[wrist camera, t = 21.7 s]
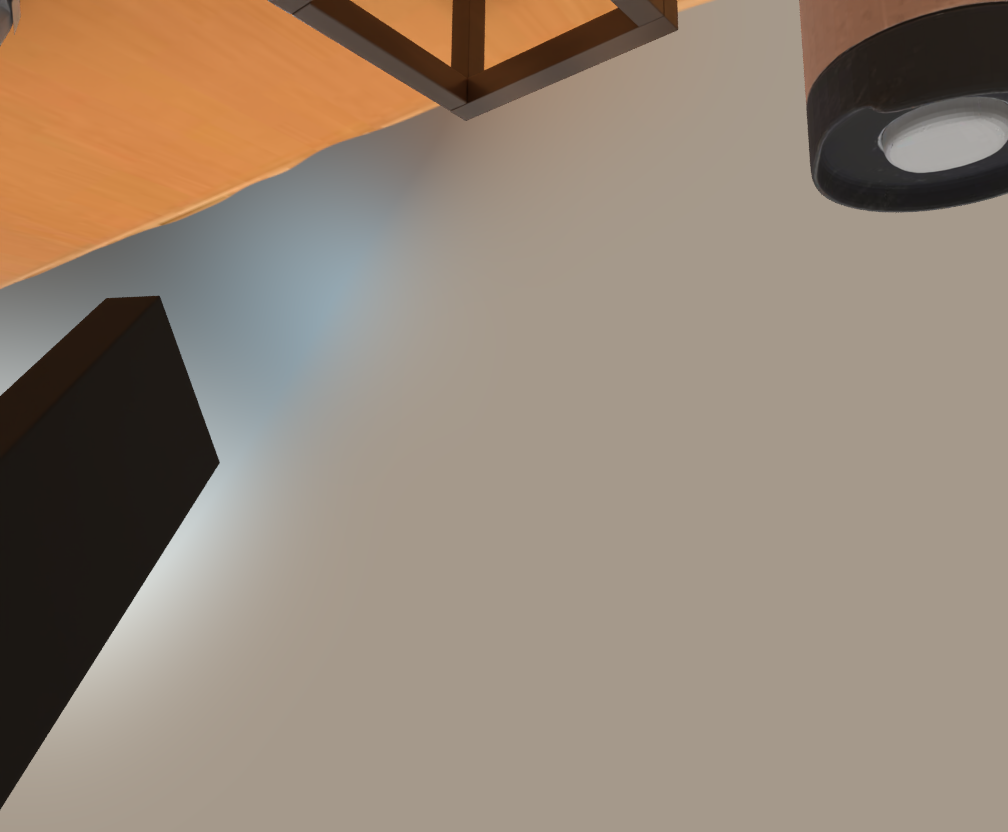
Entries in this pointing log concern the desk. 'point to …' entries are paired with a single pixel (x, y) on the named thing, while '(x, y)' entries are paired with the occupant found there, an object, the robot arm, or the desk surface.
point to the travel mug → (907, 101)
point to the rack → (465, 83)
